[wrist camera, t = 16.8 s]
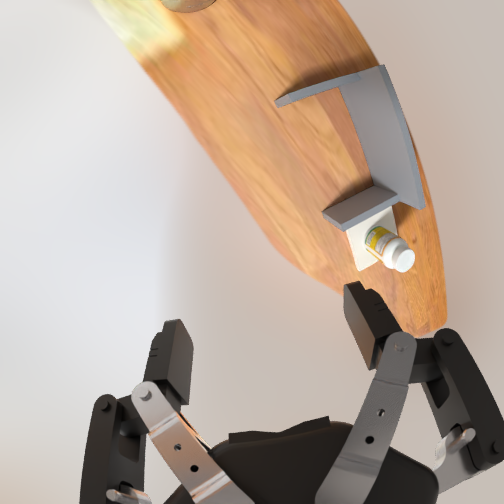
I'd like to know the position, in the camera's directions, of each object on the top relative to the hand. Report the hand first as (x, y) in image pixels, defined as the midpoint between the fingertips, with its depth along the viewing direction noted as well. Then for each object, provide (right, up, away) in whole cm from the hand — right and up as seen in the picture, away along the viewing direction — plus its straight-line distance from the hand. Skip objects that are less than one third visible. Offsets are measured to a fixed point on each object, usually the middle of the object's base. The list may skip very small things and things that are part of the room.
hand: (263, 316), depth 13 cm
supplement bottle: (+22, +6, +33) cm, 40 cm away
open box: (+12, +20, +26) cm, 35 cm away
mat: (+22, +6, +34) cm, 41 cm away
